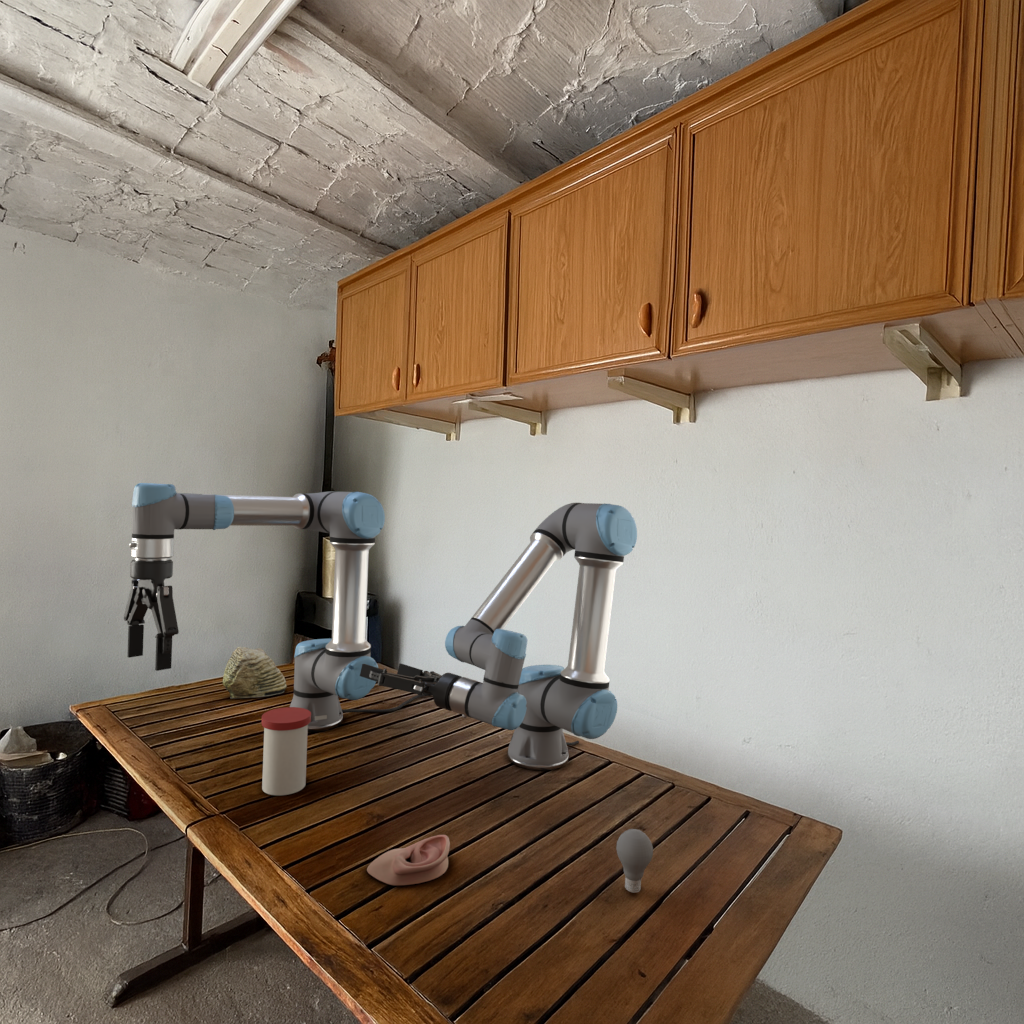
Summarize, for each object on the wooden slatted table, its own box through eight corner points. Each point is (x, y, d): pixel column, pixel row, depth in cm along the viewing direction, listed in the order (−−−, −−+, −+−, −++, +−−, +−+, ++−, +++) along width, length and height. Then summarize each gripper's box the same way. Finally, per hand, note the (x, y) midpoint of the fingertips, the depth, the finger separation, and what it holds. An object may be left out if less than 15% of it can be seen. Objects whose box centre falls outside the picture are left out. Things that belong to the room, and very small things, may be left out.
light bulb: (610, 879, 108) (613, 822, 108) (644, 879, 109) (647, 822, 109) (619, 902, 102) (622, 840, 102) (655, 901, 103) (658, 840, 103)
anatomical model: (359, 856, 105) (387, 822, 116) (358, 879, 105) (386, 843, 116) (435, 869, 102) (456, 833, 114) (434, 893, 103) (455, 855, 114)
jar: (278, 774, 143) (281, 707, 143) (313, 780, 141) (316, 713, 141) (253, 791, 135) (255, 720, 135) (289, 798, 133) (292, 726, 132)
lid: (280, 711, 144) (280, 704, 144) (319, 717, 141) (320, 710, 141) (251, 726, 134) (251, 719, 134) (293, 733, 132) (293, 725, 131)
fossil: (218, 695, 195) (220, 647, 195) (278, 685, 208) (279, 640, 207) (228, 703, 189) (230, 653, 188) (289, 692, 201) (290, 645, 201)
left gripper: (108, 554, 134) (104, 654, 134) (159, 565, 118) (155, 678, 119) (146, 552, 140) (143, 648, 140) (199, 563, 124) (195, 671, 124)
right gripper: (420, 715, 125) (340, 687, 135) (481, 707, 147) (409, 683, 157) (428, 677, 126) (349, 652, 136) (488, 675, 148) (416, 653, 158)
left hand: (148, 662), depth 129 cm, fingers open, 13 cm apart
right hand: (381, 669), depth 146 cm, fingers open, 13 cm apart
